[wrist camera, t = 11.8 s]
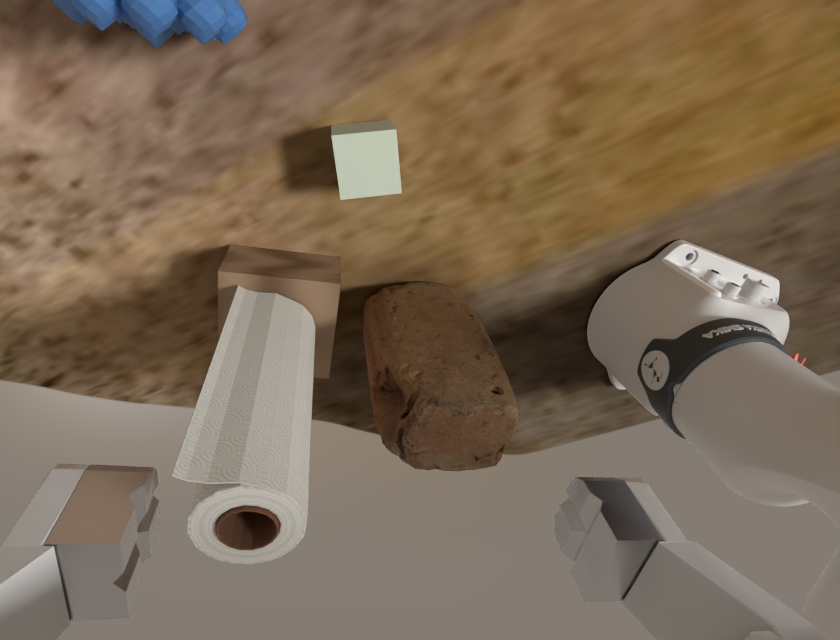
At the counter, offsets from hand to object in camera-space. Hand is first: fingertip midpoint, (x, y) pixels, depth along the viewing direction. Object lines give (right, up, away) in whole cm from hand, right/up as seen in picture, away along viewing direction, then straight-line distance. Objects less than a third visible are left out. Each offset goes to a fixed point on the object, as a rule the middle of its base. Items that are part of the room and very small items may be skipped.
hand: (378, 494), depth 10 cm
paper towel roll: (-11, +3, +35) cm, 37 cm away
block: (0, +5, +43) cm, 43 cm away
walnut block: (-13, +6, +40) cm, 42 cm away
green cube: (-4, +18, +35) cm, 39 cm away
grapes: (-17, +27, +27) cm, 42 cm away
